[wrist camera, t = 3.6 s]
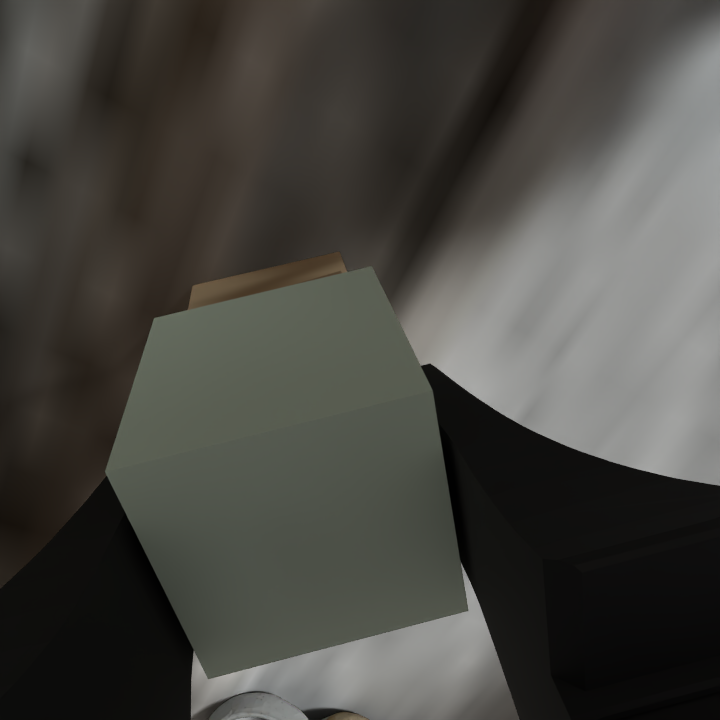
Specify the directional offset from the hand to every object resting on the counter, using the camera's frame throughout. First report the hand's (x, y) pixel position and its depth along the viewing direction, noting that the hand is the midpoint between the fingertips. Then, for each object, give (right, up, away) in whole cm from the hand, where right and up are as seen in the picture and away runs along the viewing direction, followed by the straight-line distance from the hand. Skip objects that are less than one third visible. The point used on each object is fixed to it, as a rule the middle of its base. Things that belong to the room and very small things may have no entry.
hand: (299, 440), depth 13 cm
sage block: (0, +1, +1) cm, 2 cm away
